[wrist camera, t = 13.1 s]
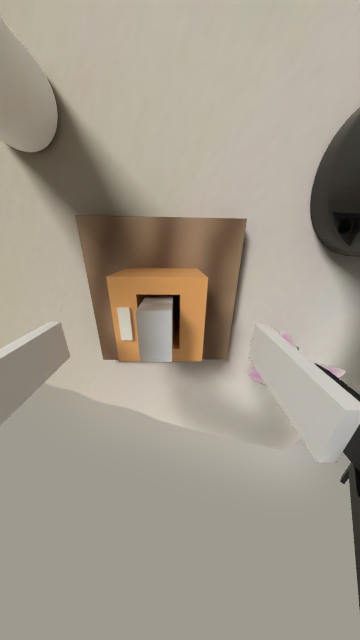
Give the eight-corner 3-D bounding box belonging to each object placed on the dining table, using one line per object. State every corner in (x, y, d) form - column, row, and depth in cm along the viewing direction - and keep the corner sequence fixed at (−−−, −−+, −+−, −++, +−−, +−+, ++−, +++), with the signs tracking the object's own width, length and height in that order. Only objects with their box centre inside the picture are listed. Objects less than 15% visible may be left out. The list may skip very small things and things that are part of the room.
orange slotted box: (194, 329, 23) (202, 363, 16) (135, 329, 23) (118, 363, 16) (197, 268, 20) (208, 278, 13) (129, 267, 20) (104, 277, 13)
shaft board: (240, 221, 20) (322, 185, 9) (222, 351, 27) (256, 424, 16) (84, 218, 19) (-38, 175, 8) (108, 351, 26) (59, 426, 15)
